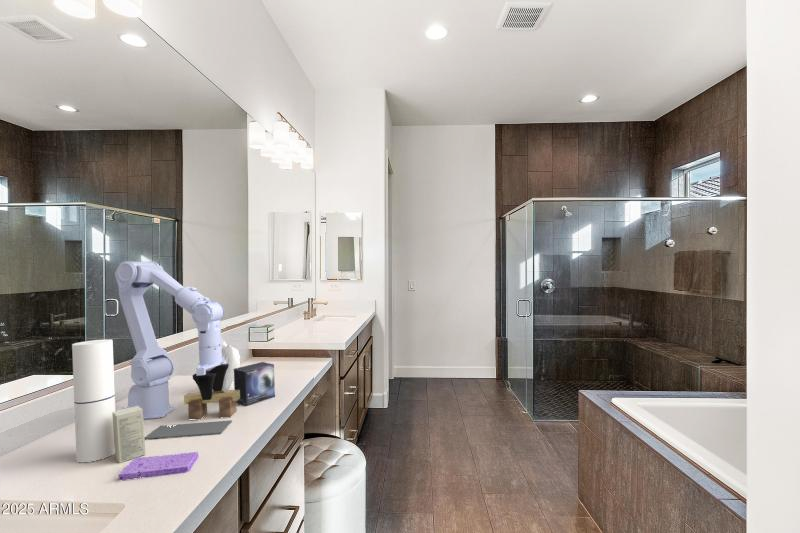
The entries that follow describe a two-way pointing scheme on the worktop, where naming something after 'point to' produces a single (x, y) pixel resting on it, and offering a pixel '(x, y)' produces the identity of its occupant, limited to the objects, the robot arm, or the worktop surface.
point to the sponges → (159, 465)
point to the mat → (189, 429)
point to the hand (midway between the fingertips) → (212, 395)
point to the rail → (213, 396)
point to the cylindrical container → (94, 399)
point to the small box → (254, 383)
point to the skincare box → (128, 433)
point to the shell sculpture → (230, 364)
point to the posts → (200, 409)
